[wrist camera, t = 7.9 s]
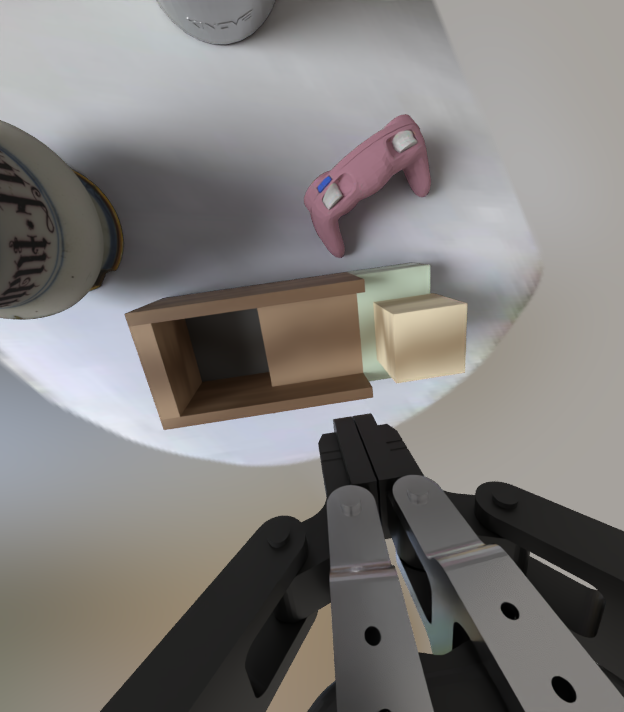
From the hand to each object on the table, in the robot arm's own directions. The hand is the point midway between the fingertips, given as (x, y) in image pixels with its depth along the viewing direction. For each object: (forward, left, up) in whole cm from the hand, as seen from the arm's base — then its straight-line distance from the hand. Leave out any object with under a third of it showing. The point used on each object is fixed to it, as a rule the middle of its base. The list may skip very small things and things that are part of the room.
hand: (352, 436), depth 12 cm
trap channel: (0, -2, -18) cm, 18 cm away
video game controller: (-10, +5, -19) cm, 22 cm away
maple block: (0, +7, -14) cm, 16 cm away
